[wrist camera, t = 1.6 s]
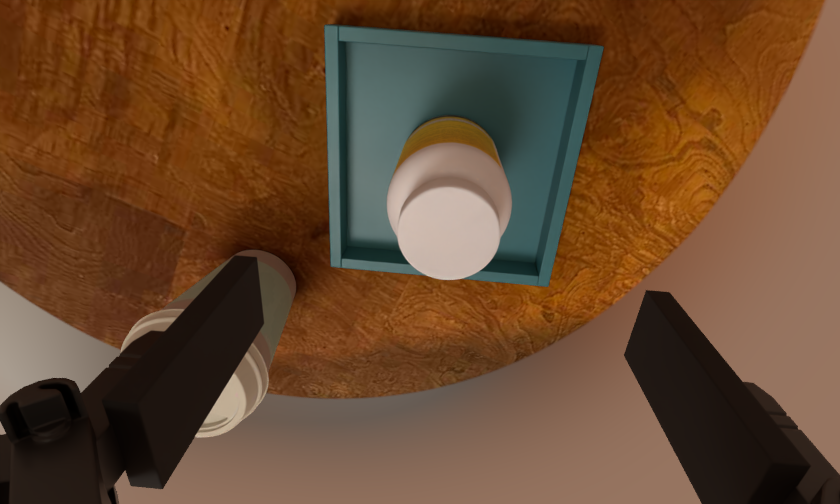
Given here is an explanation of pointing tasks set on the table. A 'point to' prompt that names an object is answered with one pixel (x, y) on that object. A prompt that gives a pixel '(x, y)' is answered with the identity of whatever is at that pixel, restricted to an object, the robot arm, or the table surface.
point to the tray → (463, 96)
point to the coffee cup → (254, 367)
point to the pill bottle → (449, 198)
